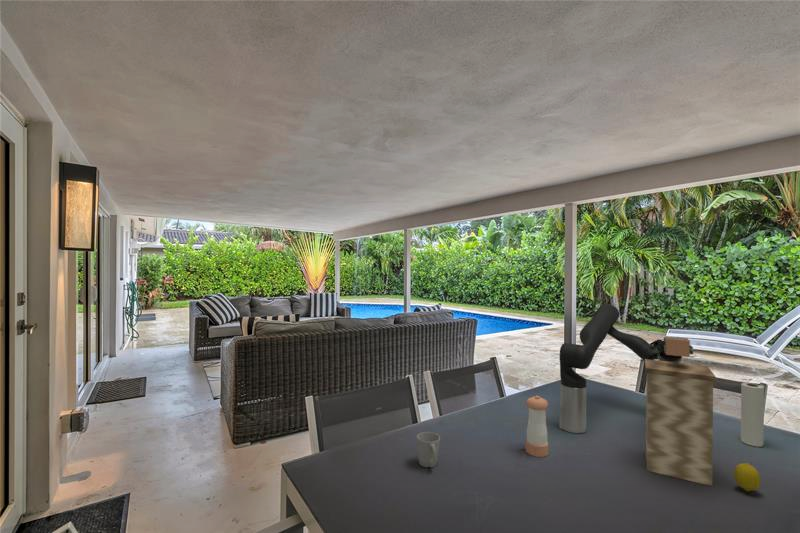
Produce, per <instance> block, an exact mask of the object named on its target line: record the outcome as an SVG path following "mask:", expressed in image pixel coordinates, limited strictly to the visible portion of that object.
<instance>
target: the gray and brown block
mask: <svg viewBox="0 0 800 533" xmlns="http://www.w3.org/2000/svg"><path fill="white" fill-rule="evenodd" d="M668 336H669V335H667V336H664V338H665V353H666V355H674V356H682V357H684V358H690V355H691V354H690V345H691V344H690V343H691V342H690V339H689V338H687V337H680V336H669V337H668Z"/></svg>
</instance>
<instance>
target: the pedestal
mask: <svg viewBox="0 0 800 533" xmlns="http://www.w3.org/2000/svg"><path fill="white" fill-rule="evenodd" d="M644 366H645V374H646V380H645V381H646V396H645V397H646V398H645V404H646V405H645V414H646V415H645V460H646V470H647V471H648V472H652V473H657V474H660V475H665V476H667V477H673V478H676V479H681V480H686V481H688V482H689V481H690V482H694V483H697V484H702V485H706V486H710V487H713V459H714V458H713V456H714V455H713V454H714V450H713V448H714V445H713V444H714V441H713V439H714V437H713V436H714V431H713V430H714V383H716V382H717V380H716V378H717V377H716V375H715V374H714V373H713V371H712V370H711V369H710V367H709V366H708V365H701V364H694V363H684V362H683V363H682V362H680V363H676V362H667V361H658V359H655V360H649V359H645V361H644Z"/></svg>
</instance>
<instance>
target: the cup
mask: <svg viewBox="0 0 800 533" xmlns="http://www.w3.org/2000/svg"><path fill="white" fill-rule="evenodd" d="M415 437H416V446H417V455H418V456H417V457H418V463H419V465H420V466H421V467H423V468H428V467H430V468H434V467H436V466H437V464H438V457H439V452H440V444H441V443H440V442H441V436H440V435H439V434H438V433H435V432H432V431H423V432H420V433H418V434H417V435H416V436H415Z"/></svg>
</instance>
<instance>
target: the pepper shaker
mask: <svg viewBox="0 0 800 533" xmlns="http://www.w3.org/2000/svg"><path fill="white" fill-rule="evenodd" d="M526 406H527V408H528V421H527V426H526V439H525V452H526V454H528V455H529V456H532V457H537V458H543V457H547V456H548V455H549V442H548V428H547V422H546V421H547V414H546V412H547V410H548V407H549V403H548V401H547V399H545V398H542V397H540V396H539V395H535V396H532V397H528V399H527V400H526Z"/></svg>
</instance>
